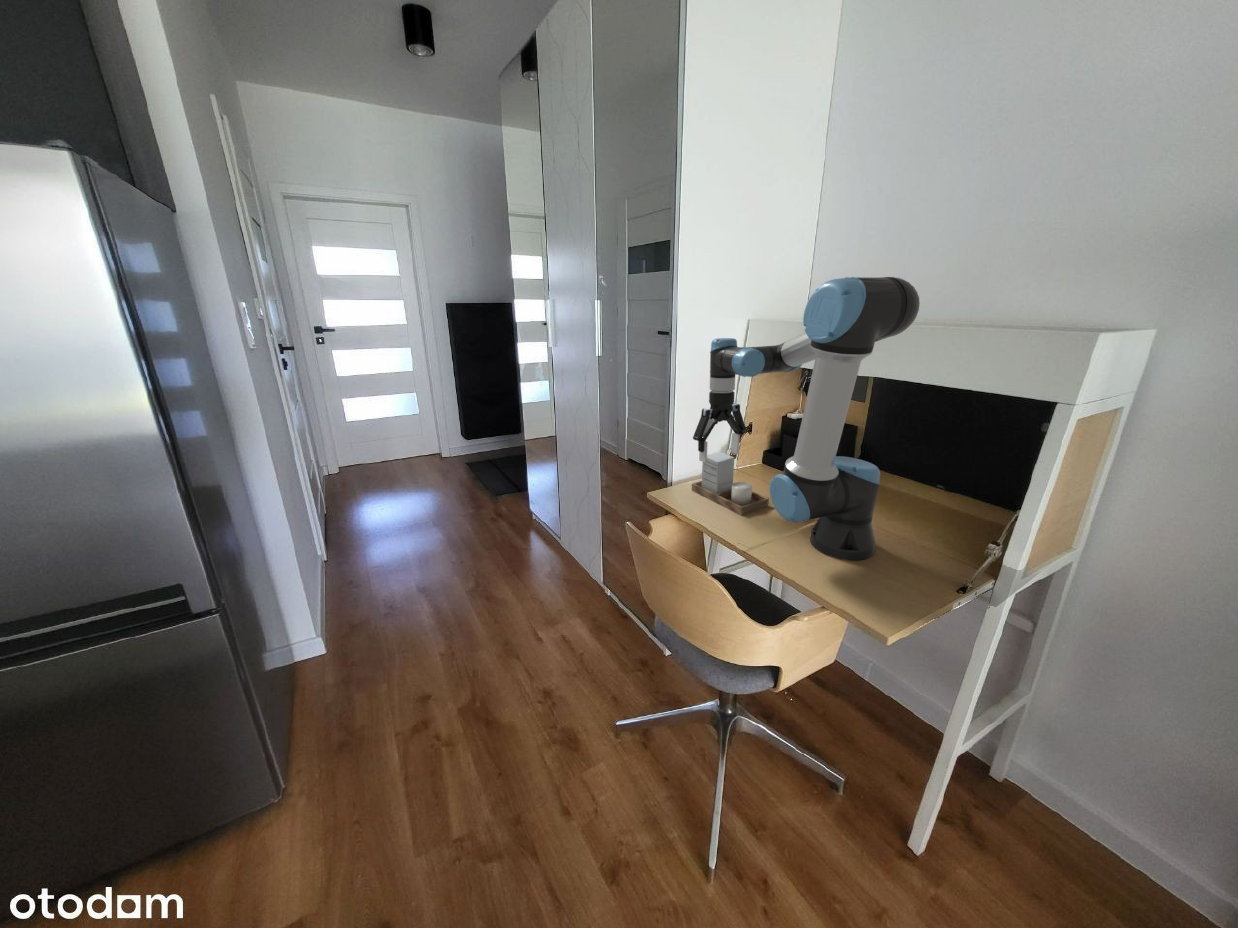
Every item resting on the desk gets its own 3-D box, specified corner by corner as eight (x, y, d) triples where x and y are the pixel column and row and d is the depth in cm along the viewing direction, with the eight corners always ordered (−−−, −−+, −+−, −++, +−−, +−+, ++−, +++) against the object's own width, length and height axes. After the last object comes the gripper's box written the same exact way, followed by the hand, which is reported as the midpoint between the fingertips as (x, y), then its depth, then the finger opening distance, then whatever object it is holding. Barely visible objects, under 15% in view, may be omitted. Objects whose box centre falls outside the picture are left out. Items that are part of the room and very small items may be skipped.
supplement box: (716, 486, 155) (718, 451, 151) (732, 493, 149) (735, 457, 145) (700, 491, 151) (702, 455, 147) (716, 499, 146) (718, 461, 141)
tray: (768, 507, 140) (768, 498, 139) (740, 517, 135) (741, 508, 134) (717, 484, 158) (717, 476, 157) (691, 492, 153) (691, 483, 152)
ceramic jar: (754, 504, 141) (756, 486, 139) (740, 509, 138) (742, 491, 136) (740, 498, 146) (741, 480, 144) (726, 502, 143) (727, 485, 141)
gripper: (742, 384, 148) (738, 447, 155) (682, 394, 136) (681, 461, 143) (760, 387, 142) (755, 452, 149) (698, 397, 130) (697, 467, 137)
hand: (719, 457), depth 146 cm, fingers open, 13 cm apart
